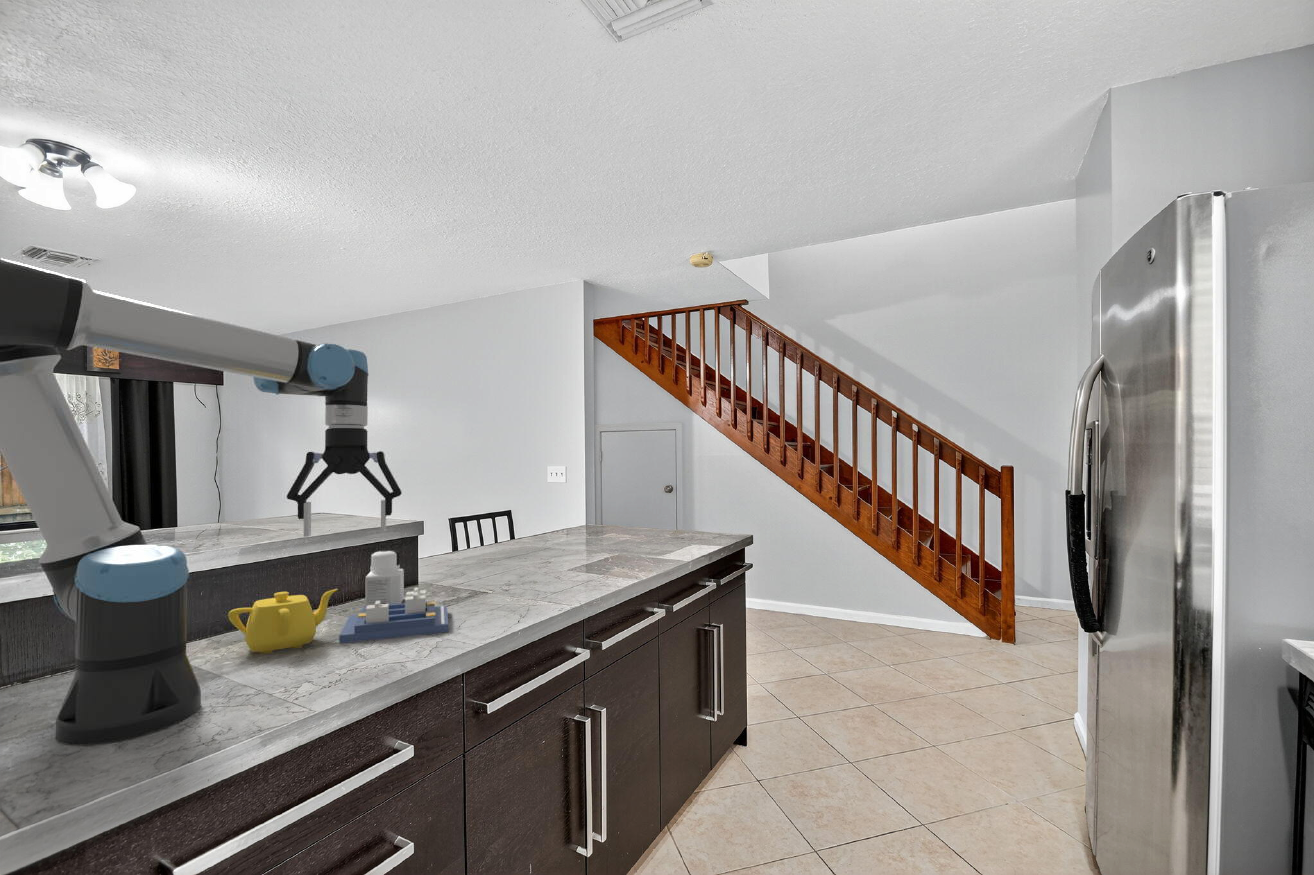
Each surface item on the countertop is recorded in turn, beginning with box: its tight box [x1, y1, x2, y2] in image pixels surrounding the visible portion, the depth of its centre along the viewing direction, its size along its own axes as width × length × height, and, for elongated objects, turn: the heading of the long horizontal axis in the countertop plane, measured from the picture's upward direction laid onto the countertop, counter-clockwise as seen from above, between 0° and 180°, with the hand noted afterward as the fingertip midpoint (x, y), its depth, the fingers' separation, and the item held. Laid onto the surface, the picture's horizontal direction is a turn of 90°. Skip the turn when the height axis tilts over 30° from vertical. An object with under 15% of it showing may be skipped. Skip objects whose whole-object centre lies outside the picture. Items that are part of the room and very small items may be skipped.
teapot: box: [227, 588, 338, 655], centre depth 115 cm, size 14×13×10 cm
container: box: [364, 549, 405, 607], centre depth 146 cm, size 8×8×13 cm
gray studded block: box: [404, 592, 425, 614], centre depth 128 cm, size 4×3×5 cm
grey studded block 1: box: [366, 601, 389, 623], centre depth 121 cm, size 4×3×5 cm
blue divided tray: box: [338, 600, 449, 644], centre depth 127 cm, size 20×16×3 cm
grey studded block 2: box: [405, 587, 427, 606], centre depth 133 cm, size 4×3×5 cm
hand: (346, 534), depth 119 cm, fingers open, 13 cm apart
